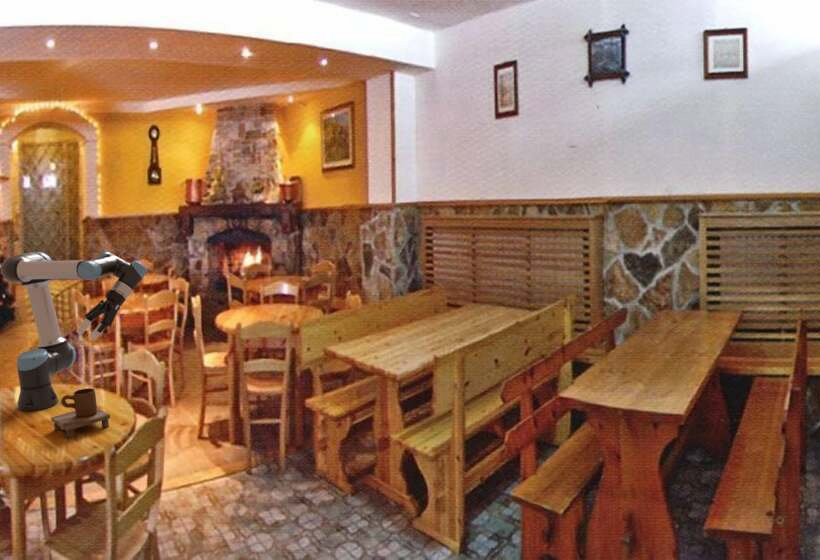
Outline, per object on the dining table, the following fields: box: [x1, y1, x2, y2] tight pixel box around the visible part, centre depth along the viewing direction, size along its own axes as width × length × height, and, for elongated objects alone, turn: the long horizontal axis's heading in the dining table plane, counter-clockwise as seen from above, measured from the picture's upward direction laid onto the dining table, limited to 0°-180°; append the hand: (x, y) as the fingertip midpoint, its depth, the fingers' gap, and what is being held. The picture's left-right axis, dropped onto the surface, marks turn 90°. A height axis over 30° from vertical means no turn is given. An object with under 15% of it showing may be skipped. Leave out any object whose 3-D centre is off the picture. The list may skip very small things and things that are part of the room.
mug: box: [60, 387, 98, 418], centre depth 251 cm, size 12×8×9 cm, turn 124°
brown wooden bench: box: [50, 407, 111, 440], centre depth 252 cm, size 15×16×5 cm
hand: (85, 335), depth 264 cm, fingers open, 13 cm apart
